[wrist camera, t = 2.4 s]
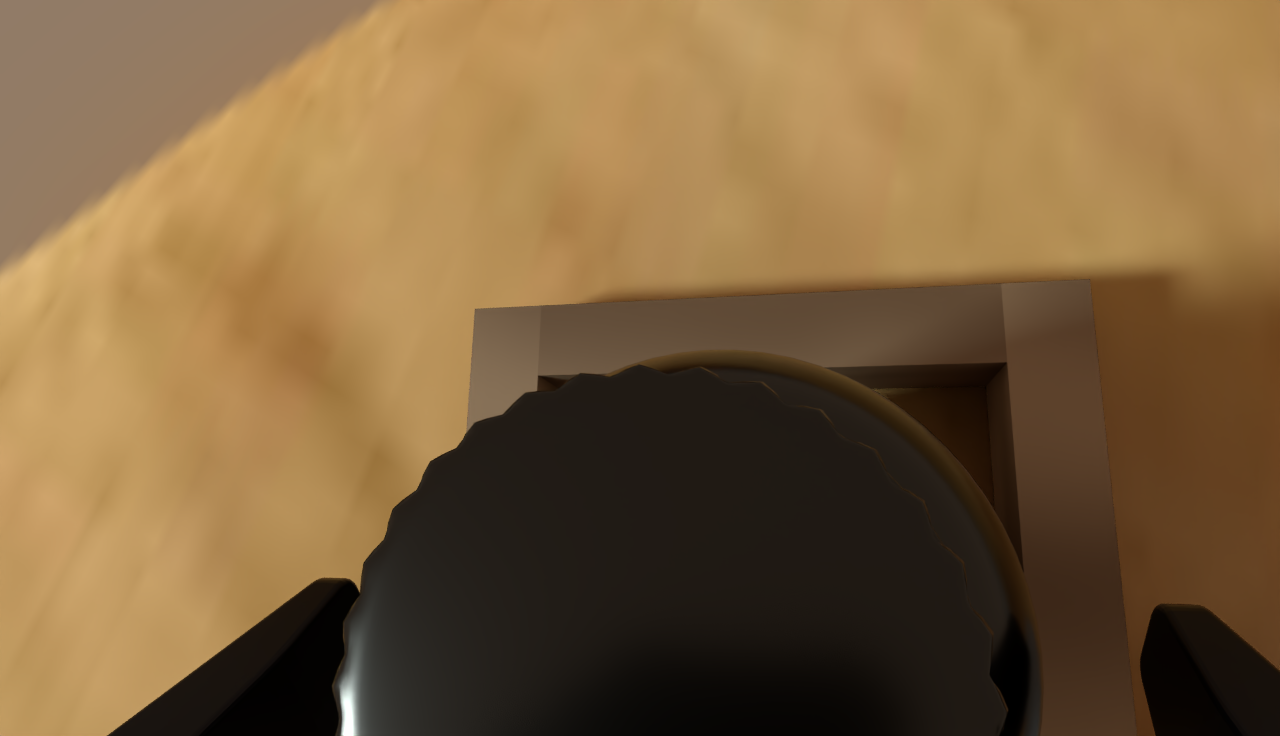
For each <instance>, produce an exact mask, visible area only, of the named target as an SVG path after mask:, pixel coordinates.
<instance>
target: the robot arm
mask: <svg viewBox="0 0 1280 736" xmlns="http://www.w3.org/2000/svg"><path fill="white" fill-rule="evenodd" d="M359 595H360V592H359V590H358V588H357V586H356V585H355V583H354V582H353V581H351V580H350V579H347V578H321V579H318V580H316V581H314V582H313V583H311V584H310V585H309V586H307V587H306V588H305V589H303V590H302V591H301V592H299V593H298V594H296V595H295V596H294V597H292V598H291V599H290V600H288V601H287V602H286V603H284V604H283V605H282V606H280V607H279V608H278V609H276V610H275V611H274V612H272V613H271V614H270V615H268V616H267V617H266V618H264V619H263V620H262V621H260V622H259V623H258V624H256V625H255V626H254V627H252V628H251V629H250V630H248V631H247V632H246V633H244V634H243V635H242V636H240V637H239V638H237V639H236V640H235V641H233V642H232V643H231V644H229V645H228V646H227V647H225V648H224V649H223V650H221V651H220V652H219V653H217V654H216V655H215V656H213V657H212V658H211V659H209V660H208V661H207V662H205V663H204V664H203V665H201V666H200V667H199V668H197V669H196V670H195V671H193V672H192V673H191V674H189V675H188V676H187V677H185V678H184V679H183V680H181V681H180V682H178V683H177V684H176V685H174V686H173V687H172V688H170V689H169V690H168V691H166V692H165V693H164V694H162V695H161V696H160V697H158V698H157V699H156V700H154V701H153V702H152V703H150V704H149V705H148V706H146V707H145V708H144V709H142V710H141V711H140V712H138V713H137V714H136V715H134V716H133V717H132V718H130V719H129V720H128V721H126V722H125V723H123V724H122V725H121V726H119V727H118V728H117V729H115V730H114V731H113V732H111V733H110V734H109V735H107V736H335V733H336V730H337V727H338V721H339V717H338V711H337V707H336V704H335V702H334V696H333V690H332V684H333V681H334V678H335V676H336V673H337V670H338V668H339V666H340V663H341V661H342V659H343V657H344V641H343V621H344V619H345V618H346V616H347V614H348V612H349V610H350V609H351V607H352V606H353V604H354V603H355V601H356V600H357V598H358V597H359ZM1140 671H1141V678H1142V682H1143V686H1144V690H1145V695H1146V699H1147V703H1148V707H1149V711H1150V715H1151V719H1152V723H1153V727H1154V731H1155V735H1156V736H1280V671H1279V670H1278V669H1277V668H1276V667H1275V666H1274V665H1273V664H1271V663H1270V662H1269V661H1268V660H1267V659H1266V658H1264V657H1263V656H1262V655H1261V654H1260V653H1259V652H1257V651H1256V650H1255V649H1254V648H1253V647H1252V646H1251V645H1249V644H1248V643H1247V642H1246V641H1245V640H1244V639H1242V638H1241V637H1240V636H1239V635H1238V634H1237V633H1235V632H1234V631H1233V630H1232V629H1231V628H1230V627H1229V626H1227V625H1226V624H1225V623H1224V622H1223V621H1222V620H1220V619H1219V618H1218V617H1217V616H1216V615H1215V614H1213V613H1212V612H1211V611H1210V610H1208V609H1206V608H1205V607H1203V606H1200V605H1191V604H1160V605H1158V606H1156V607H1155V609H1154V610H1153V612H1152V615H1151V619H1150V623H1149V626H1148V630H1147V634H1146V638H1145V641H1144V645H1143V649H1142V653H1141V658H1140Z"/></svg>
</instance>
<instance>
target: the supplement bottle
mask: <svg viewBox="0 0 1280 736" xmlns="http://www.w3.org/2000/svg"><path fill="white" fill-rule="evenodd" d="M343 641H344V657H343V659H342V661H341V663H340V666H339V668H338V670H337V673H336V676H335V678H334V681H333V684H332V690H333V696H334V702H335V704H336V707H337V711H338V717H339V721H338V727H337V730H336V733H335V736H1040V733H1041V726H1042V715H1043V694H1044V681H1043V662H1042V649H1041V643H1040V636H1039V630H1038V623H1037V618H1036V614H1035V610H1034V606H1033V602H1032V598H1031V594H1030V590H1029V586H1028V583H1027V581H1026V578H1025V575H1024V572H1023V570H1022V567H1021V564H1020V561H1019V559H1018V556H1017V553H1016V551H1015V549H1014V547H1013V545H1012V543H1011V541H1010V539H1009V537H1008V534H1007V532H1006V530H1005V528H1004V526H1003V524H1002V522H1001V521H1000V519H999V517H998V516H997V514H996V512H995V510H994V509H993V507H992V505H991V504H990V502H989V500H988V499H987V497H986V495H985V494H984V493H983V491H982V490H981V489H980V487H979V486H978V485H977V483H976V482H975V480H974V479H973V478H972V476H971V475H970V474H969V472H968V471H967V470H966V468H965V467H964V466H963V465H962V464H961V463H960V462H959V461H958V459H957V458H956V457H955V456H954V455H953V454H952V453H951V452H950V450H949V449H948V448H947V447H946V446H945V445H944V444H943V443H942V442H941V441H940V440H939V439H938V438H936V437H935V436H934V435H933V434H932V433H931V432H930V431H929V430H928V429H927V428H926V427H925V426H924V425H923V424H921V423H920V422H919V421H917V420H916V419H915V418H913V417H912V416H911V415H910V414H908V413H907V412H906V411H904V410H903V409H902V408H901V407H899V406H898V405H896V404H895V403H893V402H892V401H890V400H888V399H887V398H885V397H884V396H882V395H880V394H879V393H877V392H876V391H874V390H873V389H871V388H869V387H867V386H865V385H863V384H861V383H859V382H857V381H855V380H853V379H851V378H849V377H847V376H845V375H842V374H840V373H837V372H834V371H832V370H829V369H827V368H824V367H822V366H819V365H816V364H812V363H809V362H806V361H802V360H799V359H795V358H792V357H787V356H781V355H776V354H770V353H765V352H756V351H745V350H700V351H690V352H680V353H675V354H670V355H665V356H660V357H655V358H651V359H648V360H644V361H641V362H638V363H634V364H631V365H628V366H625V367H623V368H620V369H618V370H615V371H613V372H610V373H608V374H606V375H598V374H590V373H579V374H578V375H576V376H574V377H573V378H571V379H569V380H568V381H567V382H566V383H564V384H563V385H562V386H561V387H559V388H557V389H556V390H553V391H533V392H525V393H524V394H523V395H522V396H521V397H520V398H518V399H517V400H516V401H515V402H514V403H513V404H512V405H511V406H510V407H509V408H508V409H507V410H506V411H505V412H504V413H503V415H498V416H494V417H490V418H486V419H483V420H480V421H477V422H474V424H473V425H472V426H471V428H470V429H469V430H468V431H467V433H466V434H465V436H464V438H463V440H462V441H461V443H460V444H459V445H458V446H457V448H455V449H453V450H451V451H449V452H447V453H444V454H442V455H441V456H439V457H437V458H435V459H434V460H432V461H430V463H429V465H428V466H427V468H426V470H425V472H424V474H423V476H422V480H421V482H420V484H419V486H418V488H417V490H416V491H414V492H413V493H412V494H410V495H409V496H407V497H406V498H405V499H403V500H402V501H401V502H400V503H399V504H398V505H396V506H395V507H394V508H393V510H392V513H391V516H390V519H389V522H388V527H387V532H386V535H385V538H384V540H383V541H382V542H381V543H380V544H379V545H378V546H377V547H376V548H375V549H374V550H373V551H372V553H371V554H370V555H369V557H368V558H367V559H366V560H365V562H364V564H363V570H362V576H361V586H360V595H359V597H358V598H357V600H356V601H355V603H354V604H353V606H352V607H351V609H350V610H349V612H348V614H347V616H346V618H345V619H344V621H343Z"/></svg>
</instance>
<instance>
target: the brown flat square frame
mask: <svg viewBox="0 0 1280 736" xmlns="http://www.w3.org/2000/svg"><path fill="white" fill-rule="evenodd" d="M700 350H745V351H756V352H765V353H770V354H776V355H781V356H787V357H792V358H795V359H799V360H802V361H806V362H809V363H812V364H816V365H819V366H822V367H824V368H827V369H829V370H832V371H834V372H837V373H840V374H842V375H845V376H847V377H849V378H851V379H853V380H855V381H857V382H859V383H861V384H863V385H865V386H867V387H869V388H871V389H885V388H930V387H975V386H986V393H987V407H988V421H989V435H990V449H991V462H992V476H993V490H994V504H995V512H996V514H997V516H998V517H999V519H1000V521H1001V522H1002V524H1003V526H1004V528H1005V530H1006V532H1007V534H1008V537H1009V539H1010V541H1011V543H1012V545H1013V547H1014V549H1015V551H1016V553H1017V556H1018V559H1019V561H1020V564H1021V567H1022V570H1023V572H1024V575H1025V578H1026V581H1027V583H1028V586H1029V590H1030V594H1031V598H1032V602H1033V606H1034V610H1035V614H1036V618H1037V623H1038V630H1039V636H1040V643H1041V649H1042V662H1043V681H1044V694H1043V715H1042V726H1041V733H1040V736H1137V728H1136V718H1135V709H1134V699H1133V690H1132V680H1131V670H1130V661H1129V651H1128V641H1127V632H1126V622H1125V613H1124V603H1123V593H1122V584H1121V574H1120V564H1119V555H1118V545H1117V536H1116V526H1115V516H1114V507H1113V497H1112V487H1111V478H1110V468H1109V459H1108V449H1107V439H1106V430H1105V420H1104V410H1103V401H1102V391H1101V381H1100V372H1099V362H1098V353H1097V343H1096V333H1095V324H1094V314H1093V304H1092V295H1091V285H1090V279H1083V280H1062V281H1042V282H1021V283H1000V284H980V285H959V286H938V287H918V288H897V289H876V290H856V291H835V292H814V293H793V294H773V295H752V296H731V297H711V298H690V299H669V300H649V301H628V302H607V303H586V304H566V305H545V306H524V307H504V308H483V309H475V315H474V330H473V344H472V359H471V373H470V388H469V402H468V417H467V431H468V430H469V429H470V428H471V426H472V425H473V424H474V422H477V421H480V420H483V419H486V418H490V417H494V416H498V415H503V413H504V412H505V411H506V410H507V409H508V408H509V407H510V406H511V405H512V404H513V403H514V402H515V401H516V400H517V399H518V398H520V397H521V396H522V395H523V394H524V393H525V392H533V391H553V390H556V389H557V388H559V387H561V386H562V385H563V384H564V383H566V382H567V381H568V380H569V379H571V378H573V377H574V376H576V375H578V374H579V373H590V374H598V375H606V374H608V373H610V372H613V371H615V370H618V369H620V368H623V367H625V366H628V365H631V364H634V363H638V362H641V361H644V360H648V359H651V358H655V357H660V356H665V355H670V354H675V353H680V352H690V351H700ZM467 431H466V433H467Z"/></svg>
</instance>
